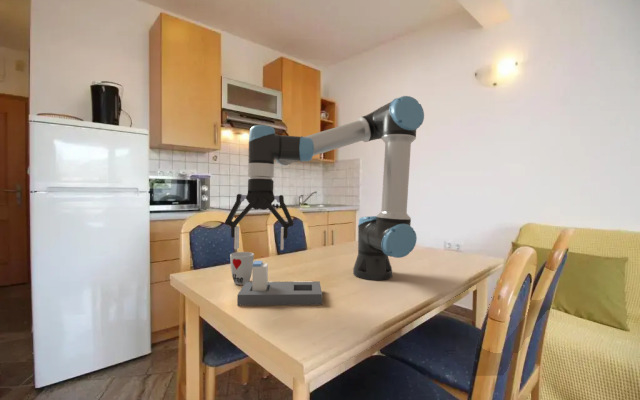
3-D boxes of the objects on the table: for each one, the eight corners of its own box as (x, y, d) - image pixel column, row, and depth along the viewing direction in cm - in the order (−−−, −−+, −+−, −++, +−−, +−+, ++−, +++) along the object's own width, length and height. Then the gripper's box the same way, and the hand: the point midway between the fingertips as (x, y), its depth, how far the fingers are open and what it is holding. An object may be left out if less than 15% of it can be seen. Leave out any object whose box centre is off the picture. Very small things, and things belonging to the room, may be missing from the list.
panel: (319, 290, 96) (319, 280, 96) (322, 304, 84) (322, 293, 84) (245, 290, 95) (245, 281, 95) (237, 305, 83) (237, 294, 83)
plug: (267, 295, 91) (267, 260, 91) (265, 300, 87) (266, 264, 87) (254, 295, 91) (254, 260, 91) (252, 300, 87) (252, 264, 87)
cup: (225, 282, 103) (225, 254, 103) (245, 277, 109) (245, 250, 109) (237, 287, 98) (238, 257, 98) (258, 282, 104) (258, 254, 103)
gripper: (302, 180, 93) (300, 247, 93) (222, 177, 91) (220, 245, 92) (302, 179, 85) (300, 251, 86) (214, 176, 84) (213, 250, 84)
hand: (259, 248), depth 89 cm, fingers open, 13 cm apart
